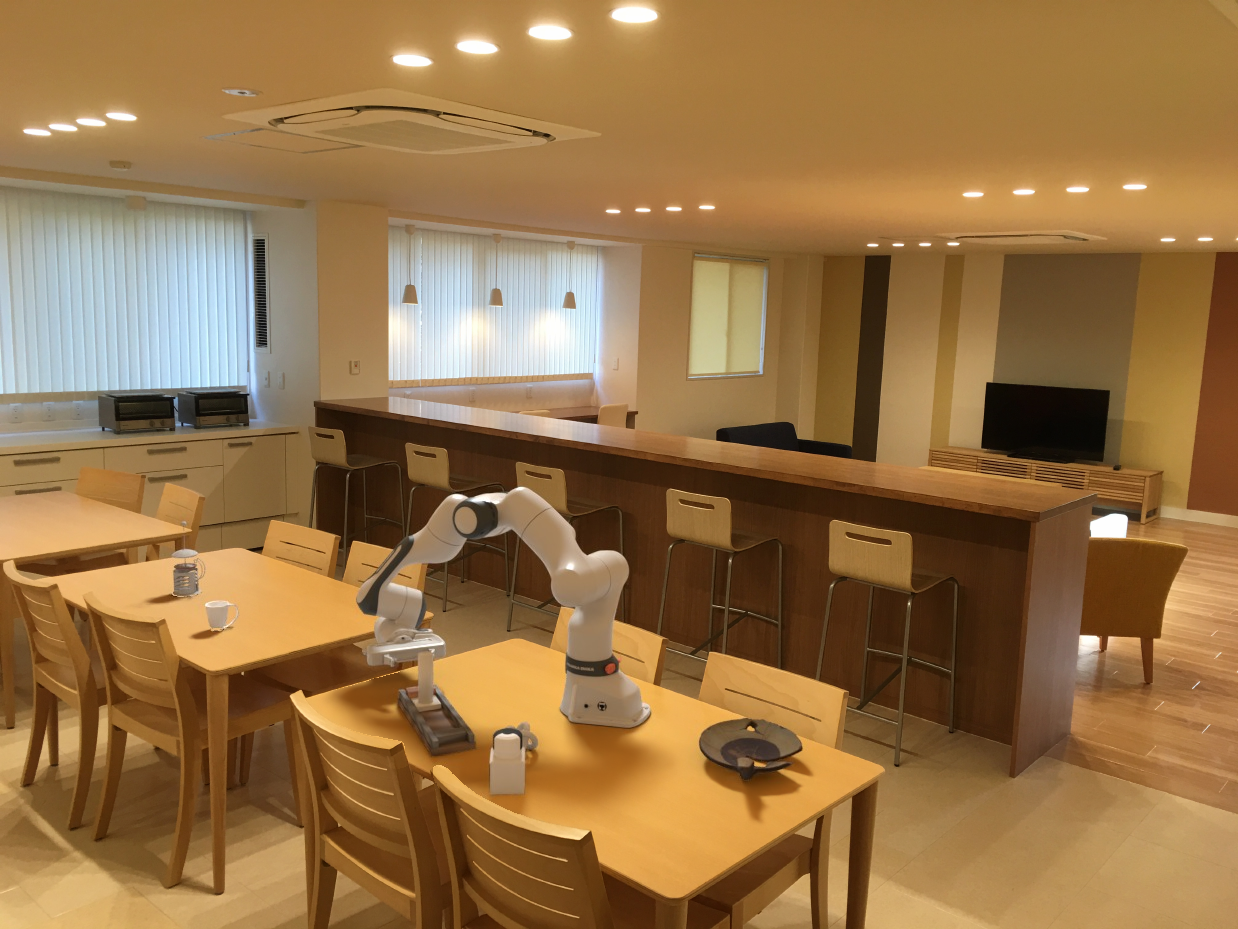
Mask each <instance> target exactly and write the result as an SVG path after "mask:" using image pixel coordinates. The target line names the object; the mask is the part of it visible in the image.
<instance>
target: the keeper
mask: <svg viewBox="0 0 1238 929" xmlns="http://www.w3.org/2000/svg"><path fill="white" fill-rule="evenodd" d="M417 684H418V685H417V686H418V697H417V698H411V701H412V702H413V704H414V705H415V707H416V708H417V710H418V711H419V712H422V711H428V710H434V709H441V703H440V701H439V700H438V699H437V697H436V696H435V695H433V685H434V661H433V653H432V652H429V651H424V652H420V653H418V660H417Z"/></svg>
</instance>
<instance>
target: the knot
mask: <svg viewBox="0 0 1238 929" xmlns="http://www.w3.org/2000/svg"><path fill="white" fill-rule="evenodd" d="M505 728H513V729H517V730H519V731H520V732H521V733H522V735H523V737H522V747H525V751H526V750H535V749H537V748H538V746H539V739H538V737H537V736H536V734H535V733H534V732H532V731H531V726H530V723H529V722H528V721H522V722H520V723H519V725H518V726H517V727H515V726H513V725H507V726H506V727H505ZM529 740H530V741H531V742H530V741H529Z"/></svg>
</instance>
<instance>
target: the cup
mask: <svg viewBox="0 0 1238 929" xmlns="http://www.w3.org/2000/svg"><path fill="white" fill-rule="evenodd" d="M204 605H205V606H204V607H205V610H206V615H207V620H208V623H209V624H208V625H209V627H210V629H211V628H212V629H213V628H223V629H225V630H226V628H225V627H228V628H229V627H230V626H232V625H233V624H234V623H235V622H236V621H237V620H238V618H239V616H240V615H239V614H240V611H239V609H238V608H239V607H238V606H237V605H236V604H234V603H230V602H229V601H227V600H212V601H209V602H206V603H205V604H204ZM233 606H234V608H235V611H236V615H235V617H234V619H232V621H231V622H230V623H228V624H227V620H228V614H229V607H233ZM223 629H220V630H223ZM214 631H218V630H214ZM223 631H224V630H223Z"/></svg>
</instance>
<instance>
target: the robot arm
mask: <svg viewBox="0 0 1238 929" xmlns="http://www.w3.org/2000/svg"><path fill="white" fill-rule="evenodd" d="M433 512H434V513H432V515H431V517H430V518H429V520H428V522H427V523H426V525H425V526H424V527H423V528H422V529H421V530H418V532H416V533H414V534H412V535H409V536H407V535H406V536H405V537H404V538H403V539H402V540H401V541H400V542H399V543H398V544H397V545H396V546H395V548H393V550H392V551H391V552H390V553H389V555H387V557H386V558H385V559H384V560H383V562H382V563H380V565H379V567H377V569H376V570H375V571H374V572H373V573H372V574H371V575H370V576H369V577H367V579H366V580H364V581H363V582H362V584H361V585H360V587H359V589H358V591H357V594H356V599H355V600H356V601H355V602H356V605H357V607H358V608H359V610H360V611H361V612H362V614H364V615H368V616H374V617H378V618H377V619H376V621H375V623H374V628H373V630H374V637H375V640H376V641H377V642H376V643H371V644H368V645H367V646H366V647H365V648H362V649H361V652H362V654H363V655H364V656H366V662H367V664H368V666H371V667H374V666H375V667H376V666H382V665H388V666H390V667H391V668H393V667H394V668H395V667H398V663H407V662H415V661H418V653H420V652H424V651H429V652H432V653H433V662H434V661H435V659H436V658H443V657H445V656H446V654H447V643H446V642H445V641H444V639H442V637H440V636H439V635H438V634H435V633H434V631H433V629H431V628H419V627H420V626H421V625H422V623H423V621H424V619H425V616H426V615H427V614H426V612H427V601H426V597H425V595H424V593H423V591H422V590H419V589H417V588H413V587H409V586H407V585H402V584H397V583H395V582H392V581H393V580H394V579H395V578H396V576H398V574H399V573H400V572H401V571H402V569H404V568H405V567H408V566H412V565H414V564H415V565H416V564H417V565H418V564H441V563H442V564H443V563H447V562H448V561H451V560H452V559H454V558H455V557H456V556H457V555H458V554H459V553H460V551H461V550H462V548H463V546H464V545H465V543H466V541H467V539H468V540H480V539H483V538H489V537H490V538H491V537H496V536H500V535H502V534H505V533H507V532H511V531H513V532H515V533H516V534H517V535H518V537H520V539H521V540H522V541H523V542H524V543H525V544H526V545H527V546H528V547H529V548H530V549H531V550H532V551H533V552H534V553H535V555H536V556H537V557H538V558H539V560H541V561H542V564H544V566H545V568H546V569H547V571H548V573H549V576H550V579H551V583H550V588H551V593H552V595H553V598H554V599H555V600H556V602H557V603H559V604H560V605H562V606H563V607H566V608H574V611H573V612H572V615H571V616H570V618H569V620H568V624H567V651H566V652H565V661H564V667H565V668H564V670H565V682H564V683H565V684H564V690H563V694H562V699H561V702H560V704H559V710H560V711H561V713H562V714H563V715H565V716H566V717H567V718H568V720H569V721H570V722H571V723H578V724H587V725H598V726H605V727H606V726H607V727H616V728H625V729H626V728H627V729H630V728H634V727H637V726H638V725H641V724H642V723H644V722H645V721H646V720H647V719H648V718H649V717H650V715H651V706H650V704H648V703H646V702H643V701H642V700H643V699H642V692H641V690H640V687H639V685H638V684H637V683H635V682H634V681H633V680H631V678H630V677H628V676H627V675H626V673H623V672H622V670H620V668H619V666H620V663H621V662H622V657H621V656H620V657H618V658H617V657H616V656H615V655H614V653H613V638H614V637H613V635H614V622H615V617H616V613H617V609H618V604H619V602H620V596H621V592H622V590H623V588H624V585H625V583H626V582H627V581H628V578H629V574H630V567H629V564H628V561H627V559H626V558H625V557H624V555H623V554H621V553H620V552H618V551H616V550H598V551H595V552H592V553H590V554H588V555H587V554H586V553H585V552H583V551H582V549H581V548H580V546H579V544H578V543H577V540H576V538H577V537H576V530H575V528H574V527H573V526H572V525H571V524H570V523H569V522H568V521H567V520H566V519H565V518H564V517H563V516H562V515H561V514H560V513H559V512H558V511H557V510H556V509H555V508H554V507H553V506H552V505H551V504H550V503H549V502H547V501H546V500H545V499H544V498H543V497H542V496H540V495H539V494H537V493H536V492H534V491H533V490H532V489H530V488H528V487H526V486H519V487H515V488H514V489H511V490H510V491H499V492H493V493H482V494H479V495H476V496H472V497H468V496H466V495H464V494H462V493H461V494H460V493H454V494H451V495H448V496H447V497H445V499H444V500H443V501H442V502H441V503H440V505H439V506H438V507H437V508H436V509H435V511H433Z"/></svg>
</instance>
